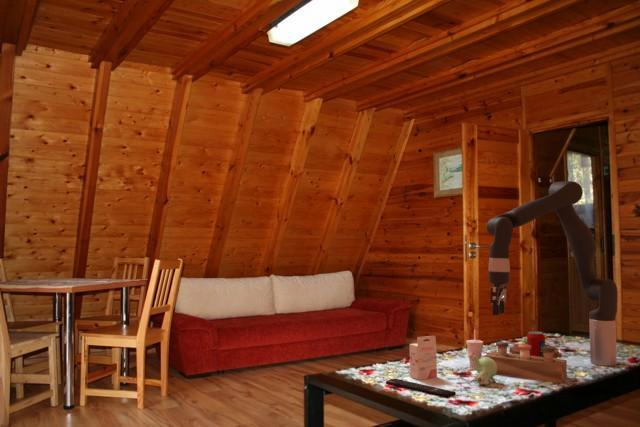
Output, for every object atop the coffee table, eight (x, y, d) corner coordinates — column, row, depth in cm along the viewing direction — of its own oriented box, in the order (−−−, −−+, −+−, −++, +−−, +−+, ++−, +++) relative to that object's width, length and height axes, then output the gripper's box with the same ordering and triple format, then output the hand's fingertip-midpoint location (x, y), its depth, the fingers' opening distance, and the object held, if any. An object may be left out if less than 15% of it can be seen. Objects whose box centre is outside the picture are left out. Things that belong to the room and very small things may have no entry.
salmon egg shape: (520, 362, 196) (519, 343, 197) (532, 364, 194) (532, 345, 194) (517, 365, 193) (516, 345, 193) (529, 366, 190) (529, 346, 190)
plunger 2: (543, 365, 192) (542, 346, 192) (556, 367, 189) (556, 347, 190) (540, 368, 188) (540, 348, 188) (554, 369, 186) (553, 349, 186)
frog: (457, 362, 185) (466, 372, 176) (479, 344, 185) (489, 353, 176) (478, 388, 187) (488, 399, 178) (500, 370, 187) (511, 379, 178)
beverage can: (547, 365, 208) (546, 334, 208) (529, 364, 209) (528, 333, 210) (543, 361, 214) (543, 331, 215) (525, 360, 216) (525, 330, 216)
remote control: (446, 399, 164) (446, 395, 164) (384, 385, 181) (384, 381, 181) (455, 396, 168) (455, 391, 168) (394, 382, 185) (394, 378, 185)
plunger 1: (498, 360, 201) (497, 341, 201) (510, 361, 198) (509, 342, 199) (494, 362, 197) (494, 343, 197) (506, 363, 195) (506, 344, 195)
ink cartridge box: (428, 374, 194) (427, 333, 195) (437, 377, 189) (436, 335, 190) (409, 377, 190) (408, 335, 191) (417, 380, 185) (417, 337, 186)
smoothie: (484, 365, 207) (484, 329, 208) (482, 369, 201) (481, 331, 202) (467, 364, 210) (467, 328, 210) (465, 367, 204) (464, 330, 205)
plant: (562, 352, 234) (562, 326, 235) (556, 360, 217) (555, 333, 218) (515, 347, 245) (514, 323, 245) (505, 355, 228) (504, 328, 229)
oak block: (493, 367, 204) (492, 351, 205) (566, 376, 190) (566, 359, 190) (484, 372, 196) (484, 355, 197) (561, 383, 182) (561, 365, 182)
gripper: (504, 271, 192) (504, 317, 191) (513, 270, 204) (513, 313, 203) (483, 270, 196) (483, 315, 195) (493, 269, 208) (493, 311, 207)
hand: (498, 314), depth 199 cm, fingers open, 8 cm apart
